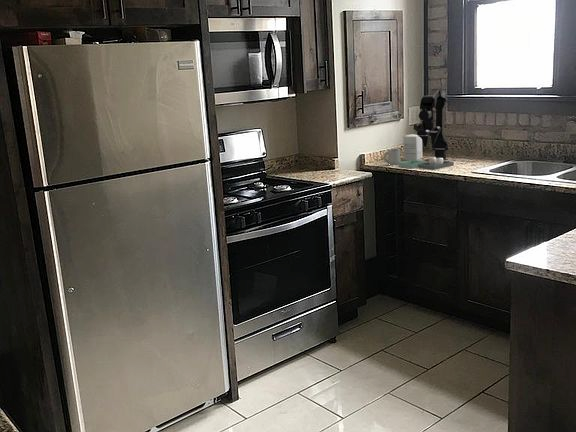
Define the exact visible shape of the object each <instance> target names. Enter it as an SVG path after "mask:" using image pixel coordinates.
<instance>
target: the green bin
mask: <svg viewBox="0 0 576 432" xmlns="http://www.w3.org/2000/svg"><path fill="white" fill-rule="evenodd" d="M426 162H427V161H426V160H420V159H419V160H403V161H400V162H399V165H398V167H399V168H405V169H418V168H419V164H422V163H426Z"/></svg>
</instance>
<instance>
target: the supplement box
mask: <svg viewBox="0 0 576 432" xmlns="http://www.w3.org/2000/svg"><path fill="white" fill-rule="evenodd" d="M402 138H403V161H408V160H418V159H419V160H420V159H423V158H424V157H423V141H422V139H421V138H420V137H419V136H418V135H417V134H412V133H411V134H407V135H404V136H403V137H402Z"/></svg>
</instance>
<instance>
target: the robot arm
mask: <svg viewBox="0 0 576 432" xmlns="http://www.w3.org/2000/svg"><path fill="white" fill-rule="evenodd" d="M448 97H449V96H448V95H447V92H445V91H443V90H442V88H432V89H431V91H430V93H429V94H428V95H423V96H422V98H421V99H420V103H419V104H420V105H419V109H420V110H421V111H419V113H418V119H420V121H421V123H420V124H419V123H414V124H413V130H414V131H415V132H416V135H418V136H419V137H420V138H421V139H422V145H423V147H424V148H427V147H428V144H429V140H430V142H431V148H432V151H433V152H434V157H436V158H443V161H448V158H447V151H449V144H448V142H447V141H448V140H447V137H446V135H445V134H444V127H445V126H444V124H445V123H444V118H445V117H444V116H445V113H444V112H445V108H446V106H447V102H448ZM434 111H435V112H434Z"/></svg>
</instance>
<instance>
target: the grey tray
mask: <svg viewBox="0 0 576 432" xmlns="http://www.w3.org/2000/svg"><path fill="white" fill-rule="evenodd" d="M453 166H454V161H448V160H443V164H441V165H436V166H431V165H429V161H426V163H422V164H419V167H418V168H420V169H426V170H433V171H436V170H439V169H444V168H448V167H453Z"/></svg>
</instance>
